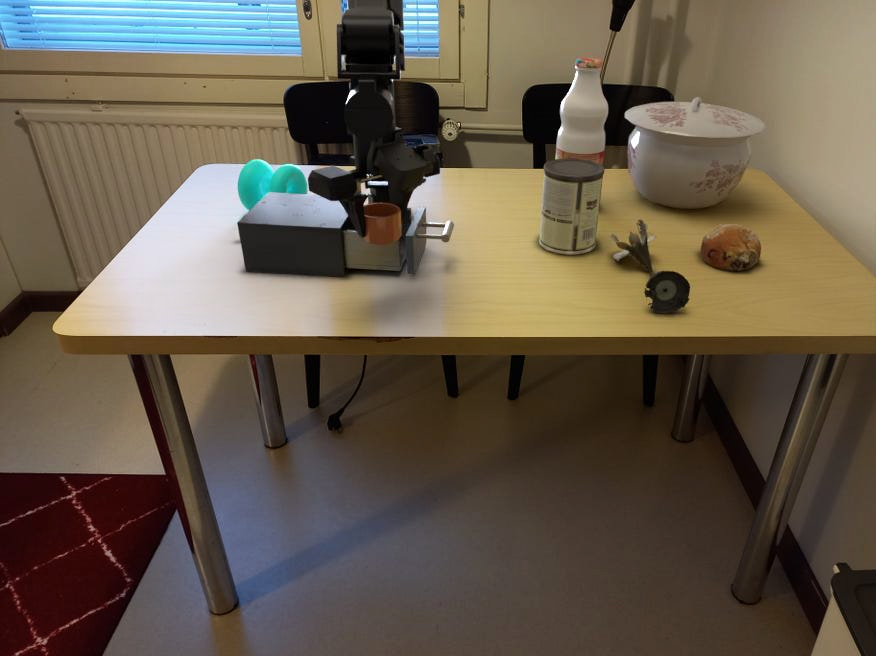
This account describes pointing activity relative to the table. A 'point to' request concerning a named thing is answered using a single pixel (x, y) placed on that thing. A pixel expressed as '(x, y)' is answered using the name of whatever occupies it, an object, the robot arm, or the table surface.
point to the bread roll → (731, 248)
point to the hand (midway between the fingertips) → (380, 230)
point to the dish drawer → (393, 245)
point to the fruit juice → (583, 115)
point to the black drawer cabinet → (294, 235)
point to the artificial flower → (664, 285)
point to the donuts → (268, 181)
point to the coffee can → (570, 205)
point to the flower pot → (382, 223)
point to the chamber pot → (688, 151)
